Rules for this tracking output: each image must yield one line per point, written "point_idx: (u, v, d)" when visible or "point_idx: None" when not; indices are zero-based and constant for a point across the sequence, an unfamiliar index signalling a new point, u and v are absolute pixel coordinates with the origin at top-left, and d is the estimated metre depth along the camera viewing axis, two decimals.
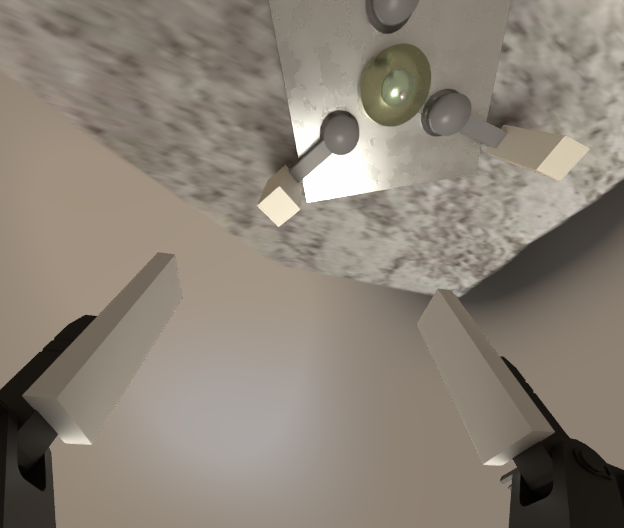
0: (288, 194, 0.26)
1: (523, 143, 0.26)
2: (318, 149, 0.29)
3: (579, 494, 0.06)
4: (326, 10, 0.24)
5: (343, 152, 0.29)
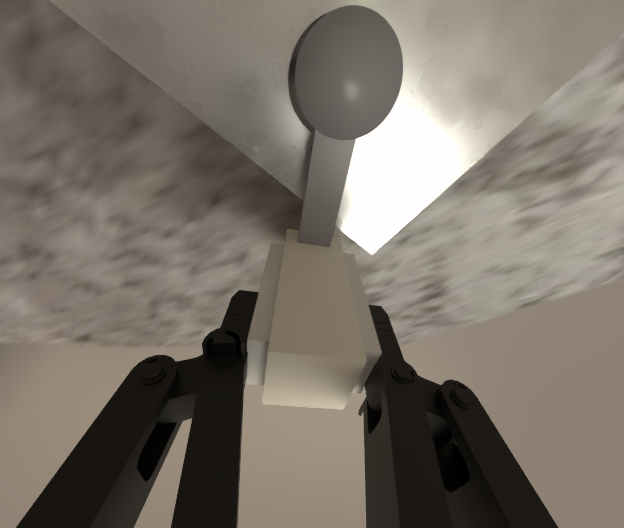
0: (309, 345, 0.08)
1: None
2: (319, 158, 0.11)
3: (396, 408, 0.07)
4: None
5: (380, 113, 0.10)
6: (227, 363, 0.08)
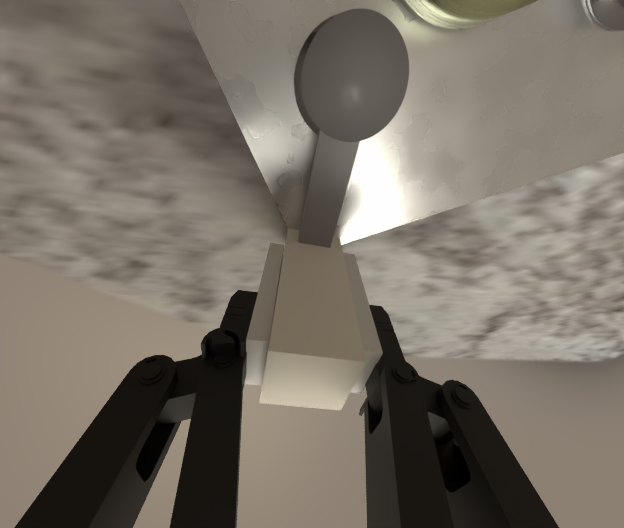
0: (309, 345, 0.08)
1: None
2: (322, 158, 0.11)
3: (397, 408, 0.07)
4: None
5: (385, 116, 0.10)
6: (226, 363, 0.08)
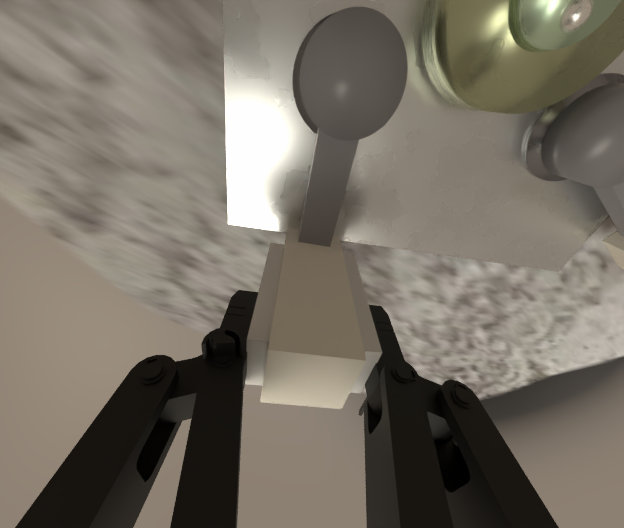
0: (309, 344, 0.08)
1: None
2: (321, 157, 0.11)
3: (397, 408, 0.07)
4: None
5: (384, 114, 0.10)
6: (226, 363, 0.08)
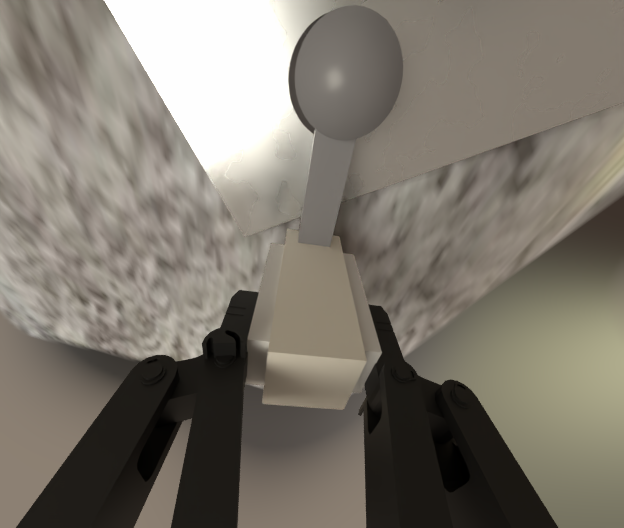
0: None
1: (320, 283, 0.11)
2: None
3: (396, 408, 0.07)
4: None
5: None
6: (227, 363, 0.08)
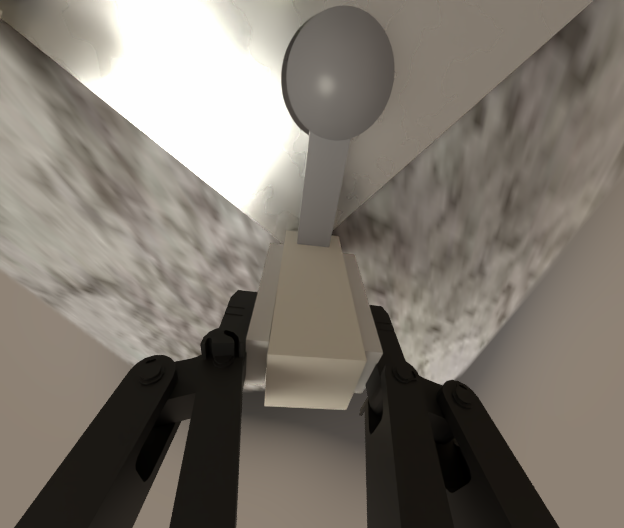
0: None
1: (319, 284, 0.11)
2: None
3: (397, 408, 0.07)
4: None
5: None
6: (226, 363, 0.08)
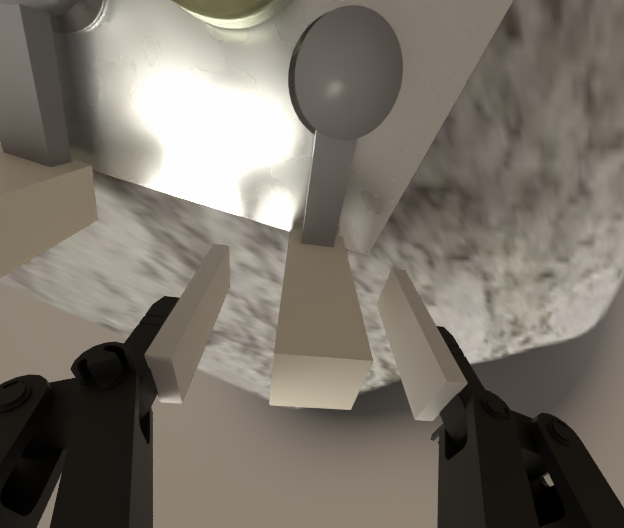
0: None
1: (324, 283, 0.11)
2: None
3: (486, 439, 0.07)
4: None
5: None
6: (113, 382, 0.07)
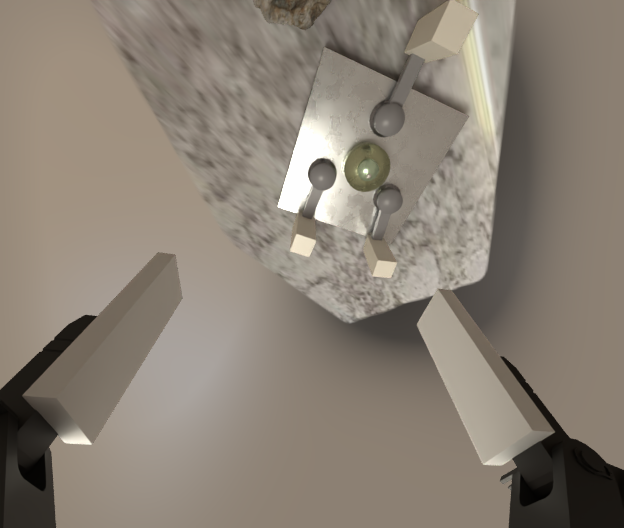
0: (304, 235, 0.38)
1: (383, 249, 0.43)
2: (313, 193, 0.41)
3: (579, 494, 0.06)
4: (348, 99, 0.36)
5: (329, 186, 0.40)
6: None
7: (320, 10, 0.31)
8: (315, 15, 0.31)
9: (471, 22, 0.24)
